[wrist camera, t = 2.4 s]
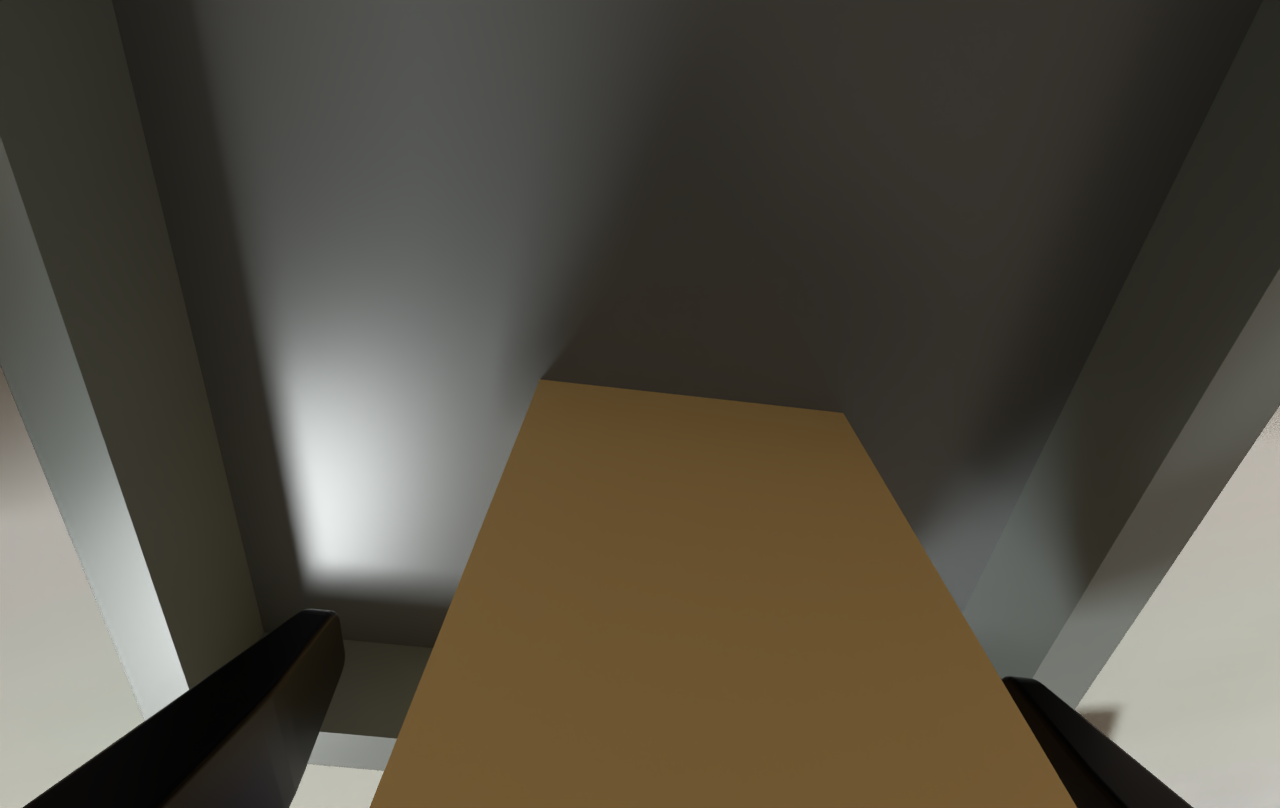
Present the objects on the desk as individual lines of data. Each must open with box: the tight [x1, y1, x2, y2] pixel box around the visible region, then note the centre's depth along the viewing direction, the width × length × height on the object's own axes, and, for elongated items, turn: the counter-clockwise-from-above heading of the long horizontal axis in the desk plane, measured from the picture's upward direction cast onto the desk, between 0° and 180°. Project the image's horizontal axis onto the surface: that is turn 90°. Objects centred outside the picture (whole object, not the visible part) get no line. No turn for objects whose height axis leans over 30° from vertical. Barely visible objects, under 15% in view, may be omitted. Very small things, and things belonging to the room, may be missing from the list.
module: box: [370, 380, 1077, 808], centre depth 7 cm, size 5×5×8 cm
